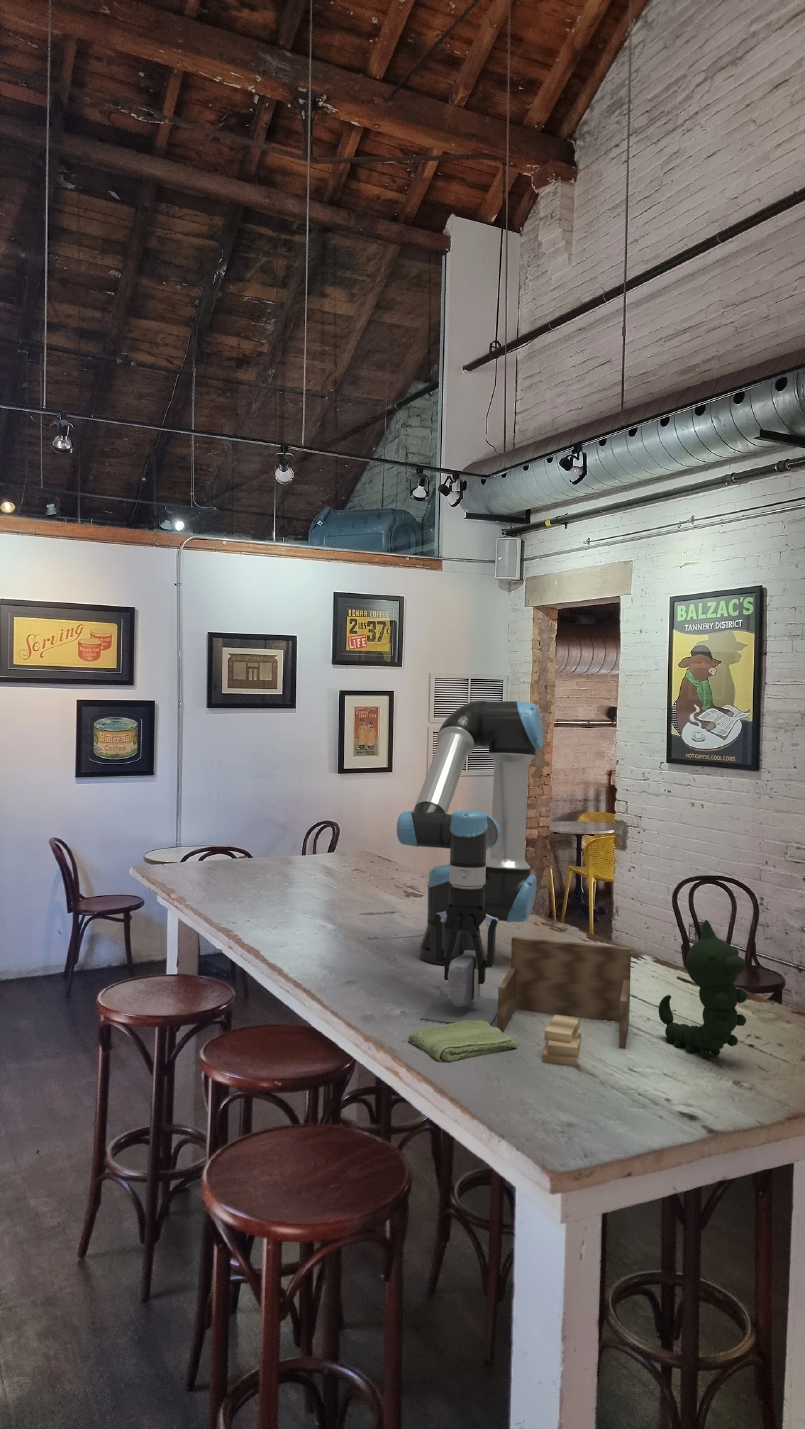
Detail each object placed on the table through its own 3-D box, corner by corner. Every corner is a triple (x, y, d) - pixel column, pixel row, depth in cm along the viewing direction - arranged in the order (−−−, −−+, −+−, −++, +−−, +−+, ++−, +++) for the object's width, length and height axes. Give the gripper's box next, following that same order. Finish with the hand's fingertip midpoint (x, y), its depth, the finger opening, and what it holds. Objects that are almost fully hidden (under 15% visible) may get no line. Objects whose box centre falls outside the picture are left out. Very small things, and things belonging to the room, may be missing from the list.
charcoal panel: (420, 1022, 187) (420, 1018, 187) (441, 996, 205) (441, 992, 205) (488, 1030, 183) (488, 1026, 183) (504, 1003, 201) (504, 999, 201)
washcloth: (521, 1052, 174) (521, 1034, 174) (440, 1068, 165) (441, 1049, 165) (481, 1030, 185) (481, 1013, 185) (403, 1044, 176) (404, 1027, 176)
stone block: (472, 1011, 187) (464, 961, 188) (450, 1012, 189) (442, 963, 190) (491, 994, 198) (483, 947, 199) (470, 995, 200) (462, 948, 200)
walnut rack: (497, 1033, 182) (499, 955, 182) (510, 1008, 198) (512, 936, 198) (625, 1048, 175) (627, 968, 175) (629, 1021, 191) (631, 947, 191)
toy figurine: (721, 1073, 165) (725, 932, 164) (642, 1039, 181) (645, 910, 181) (756, 1064, 169) (760, 926, 169) (676, 1031, 186) (680, 906, 186)
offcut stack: (549, 1038, 181) (550, 1011, 181) (581, 1042, 180) (582, 1015, 180) (542, 1064, 167) (543, 1035, 167) (576, 1068, 166) (577, 1039, 166)
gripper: (421, 885, 193) (418, 997, 193) (506, 892, 188) (503, 1007, 188) (430, 879, 200) (427, 987, 200) (512, 885, 195) (509, 997, 195)
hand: (464, 997), depth 194 cm, fingers closed on stone block, 5 cm apart
